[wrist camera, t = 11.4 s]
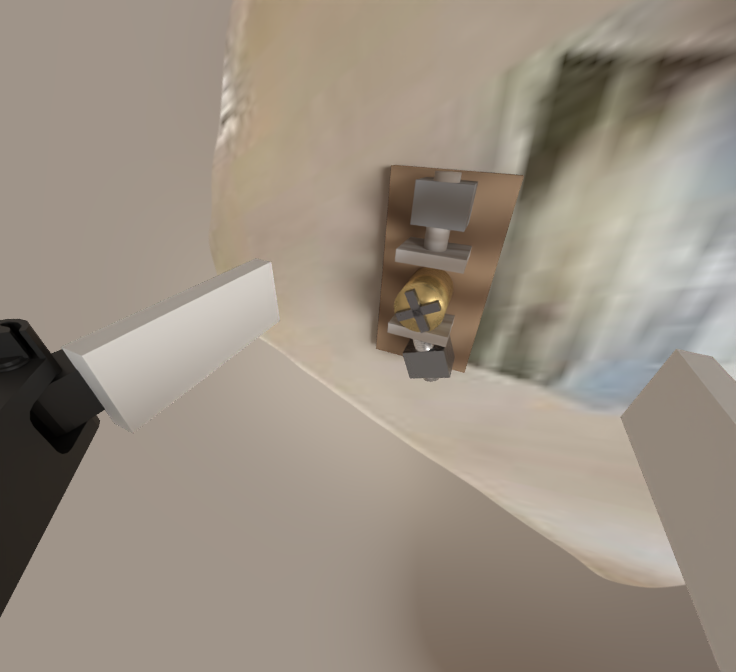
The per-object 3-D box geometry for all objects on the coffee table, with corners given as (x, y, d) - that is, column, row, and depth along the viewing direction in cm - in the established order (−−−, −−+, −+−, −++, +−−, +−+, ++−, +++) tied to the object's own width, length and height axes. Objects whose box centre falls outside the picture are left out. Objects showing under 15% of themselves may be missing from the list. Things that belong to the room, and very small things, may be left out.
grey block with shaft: (407, 320, 36) (397, 337, 33) (445, 315, 34) (439, 333, 31) (418, 363, 39) (411, 382, 36) (455, 361, 37) (450, 381, 33)
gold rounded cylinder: (402, 274, 34) (384, 296, 28) (445, 259, 31) (432, 280, 26) (418, 312, 35) (403, 339, 30) (459, 301, 33) (450, 329, 27)
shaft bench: (395, 165, 30) (372, 167, 24) (522, 175, 26) (527, 180, 21) (379, 343, 42) (361, 370, 36) (465, 366, 38) (459, 399, 33)
